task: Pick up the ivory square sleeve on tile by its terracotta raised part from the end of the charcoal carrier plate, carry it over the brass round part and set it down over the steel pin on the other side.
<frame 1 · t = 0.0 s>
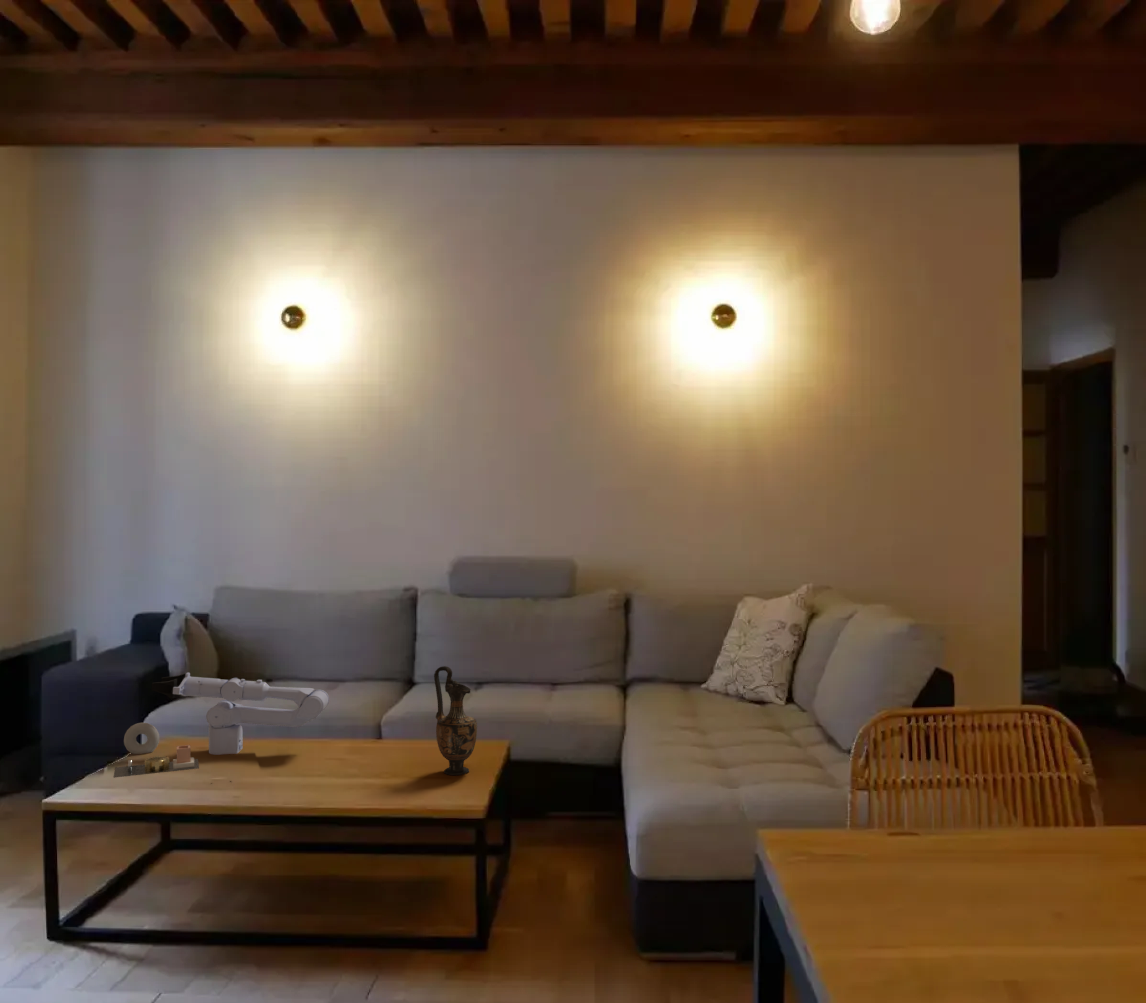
hand: (156, 683, 286), 22 cm above the table, tool horizontal, fingers open, 7 cm apart
square sleeve on tile: (183, 765, 273), point 1 cm above the table, touching carrier plate
vase: (455, 772, 271), on the table
carrier plate: (157, 771, 270), on the table
donut: (141, 756, 286), on the table
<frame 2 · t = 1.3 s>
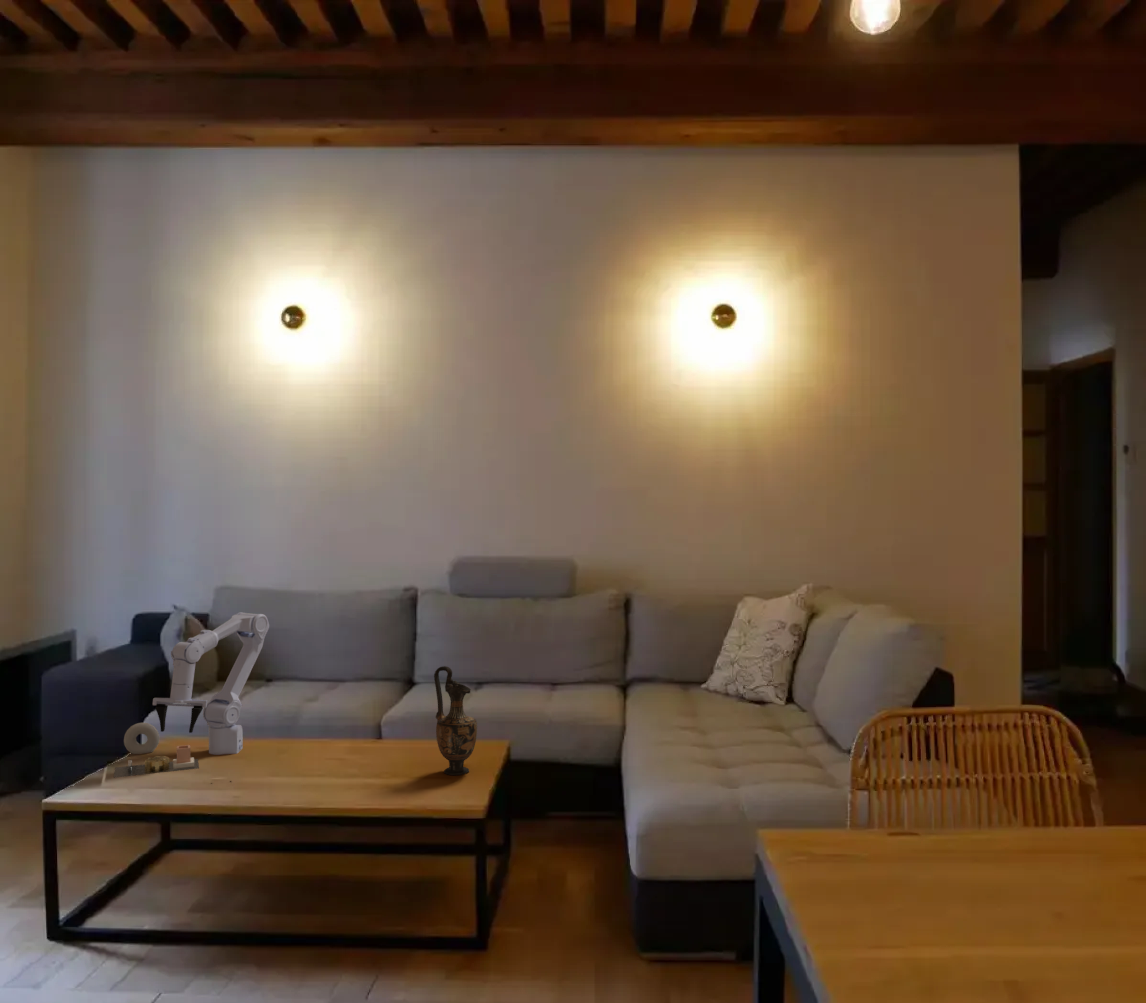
hand: (176, 731, 273), 11 cm above the table, tool pointing down, fingers open, 7 cm apart
nothing on the table moved.
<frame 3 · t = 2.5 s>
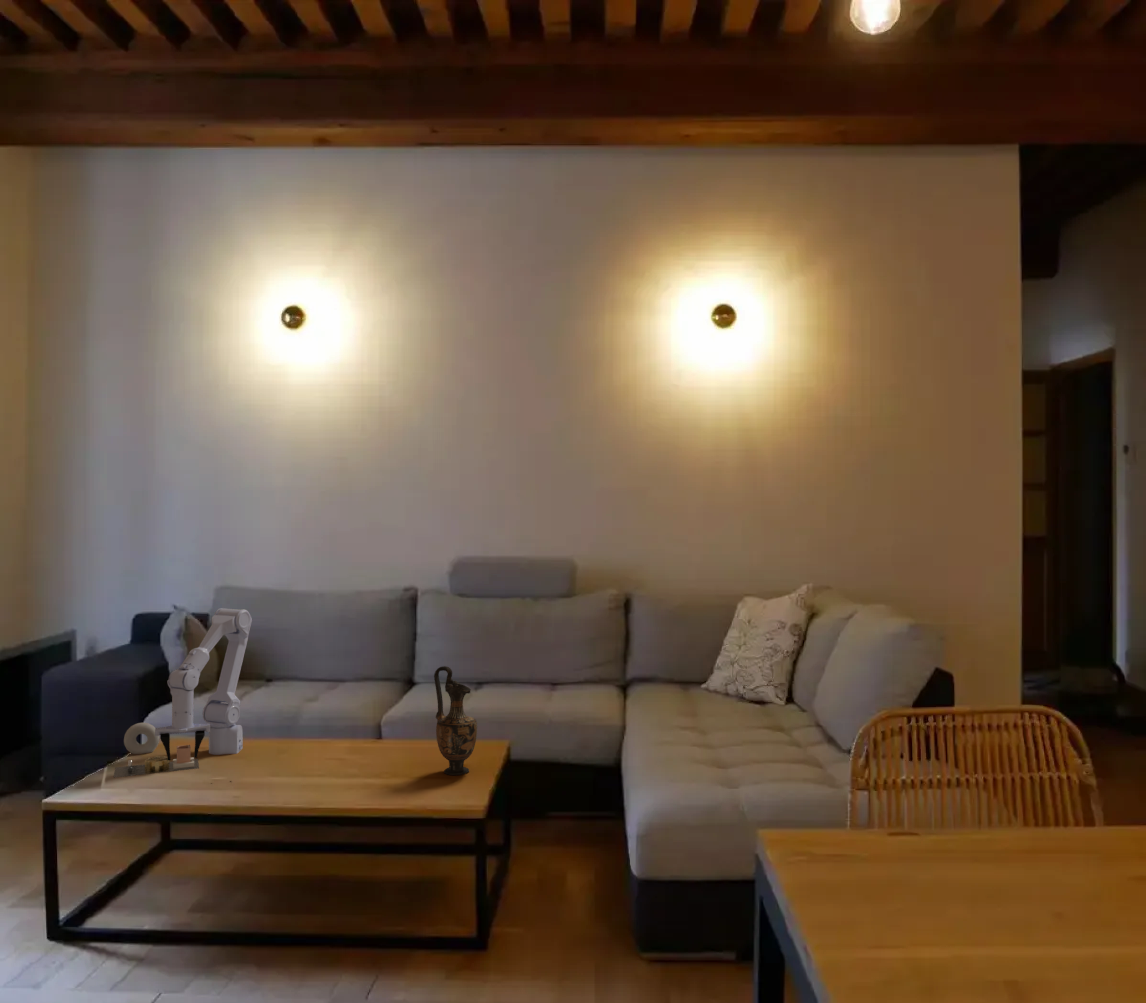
hand: (182, 758, 273), 3 cm above the table, tool pointing down, fingers open, 6 cm apart
nothing on the table moved.
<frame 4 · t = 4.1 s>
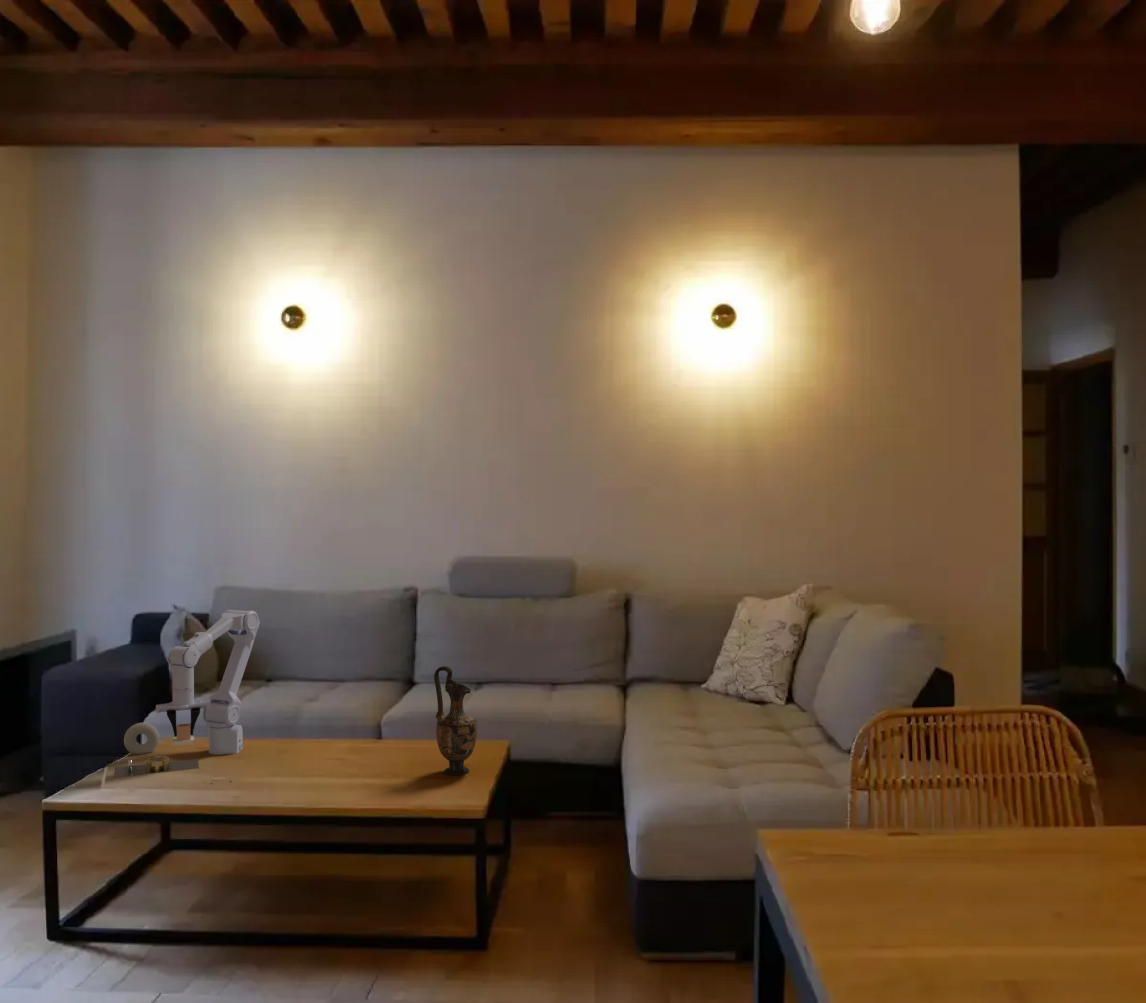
hand: (183, 735, 273), 10 cm above the table, tool pointing down, fingers closed on square sleeve on tile, 4 cm apart
square sleeve on tile: (183, 743, 273), point 7 cm above the table, touching gripper
everything else where it was.
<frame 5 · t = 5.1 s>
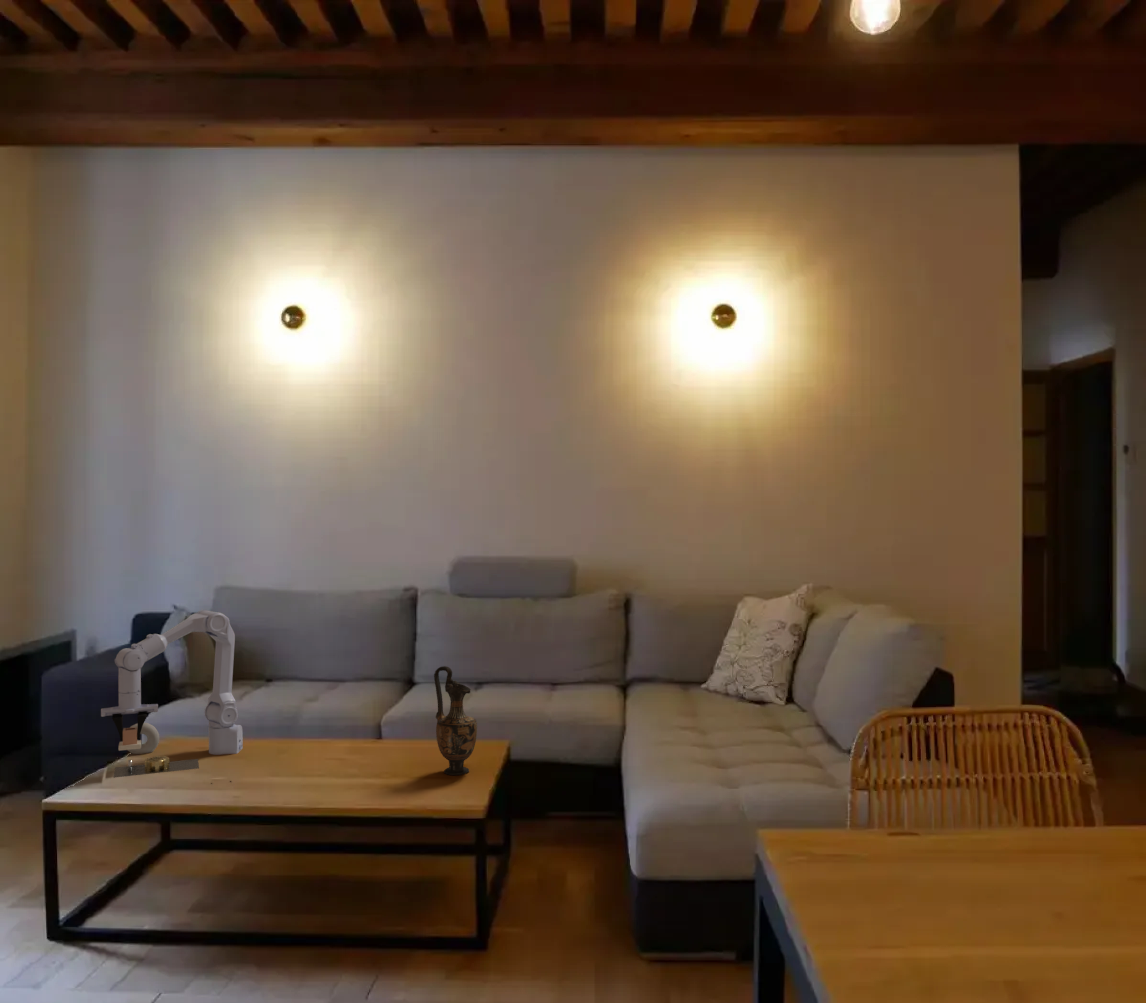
hand: (130, 739, 267), 10 cm above the table, tool pointing down, fingers closed on square sleeve on tile, 4 cm apart
square sleeve on tile: (130, 747, 267), point 8 cm above the table, touching gripper
everything else where it was.
when the fingers open (4 cm above the table, at t = 6.6 s): square sleeve on tile stays where it is, resting on carrier plate.
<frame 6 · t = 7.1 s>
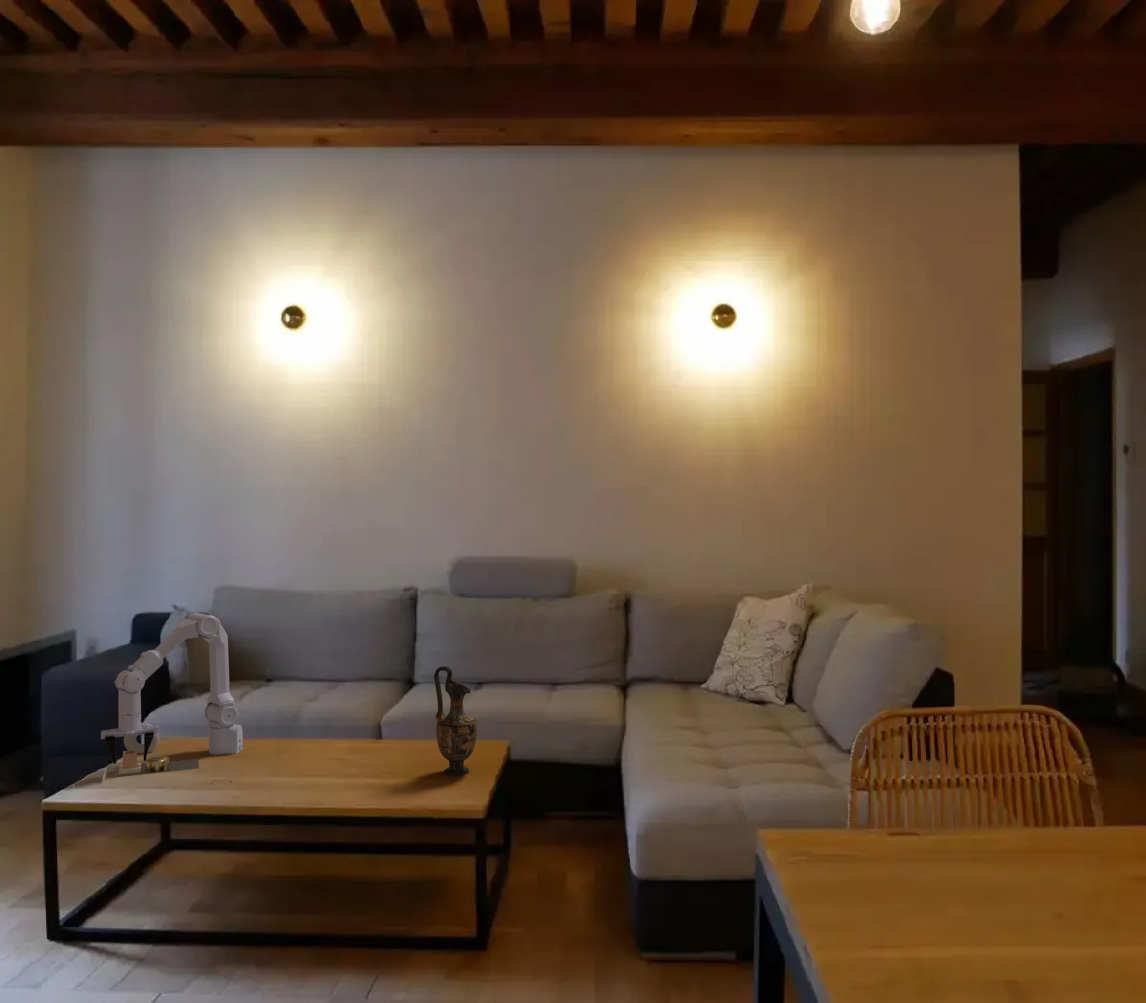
hand: (130, 761, 267), 4 cm above the table, tool pointing down, fingers open, 7 cm apart
square sleeve on tile: (130, 770, 267), point 1 cm above the table, touching carrier plate
everything else where it was.
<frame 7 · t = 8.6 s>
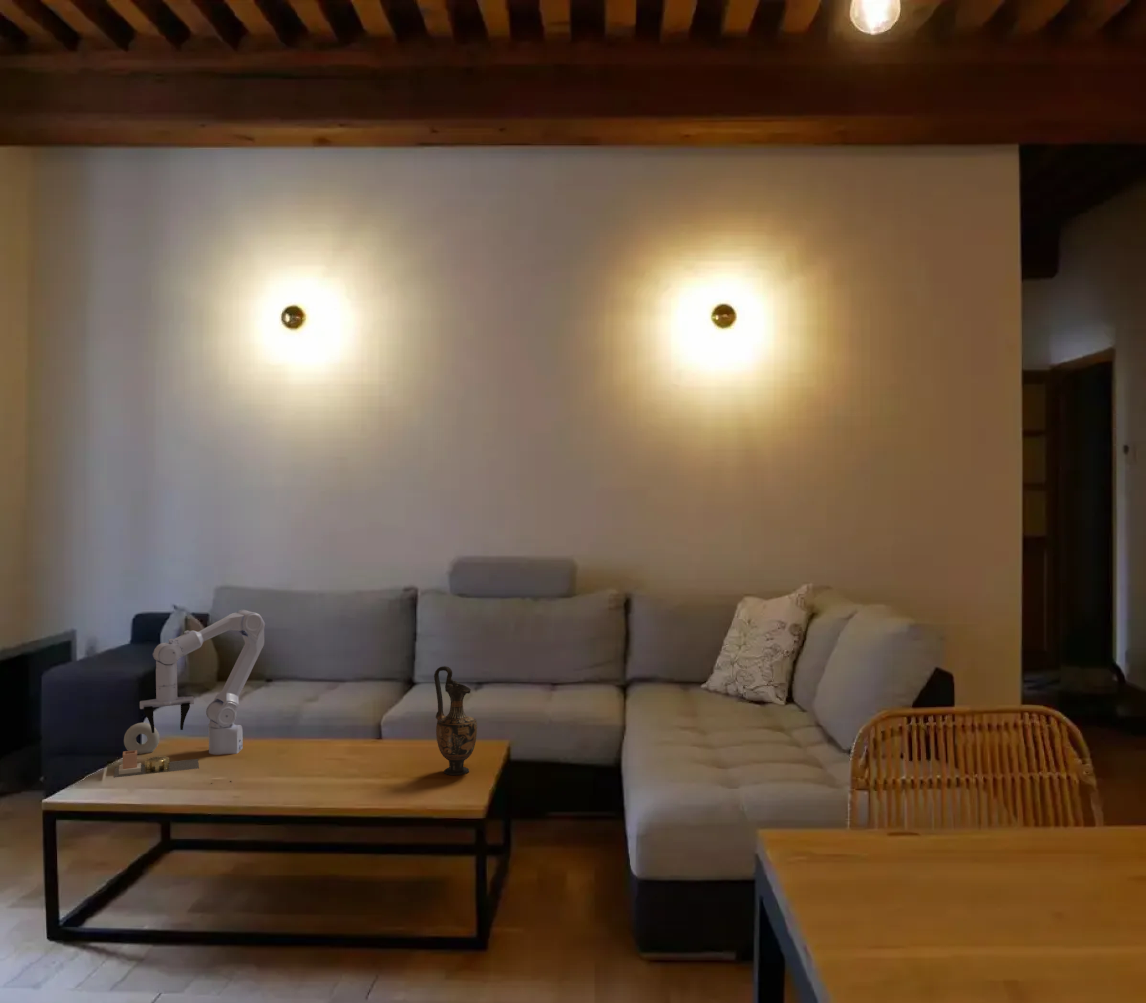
hand: (167, 730, 277), 10 cm above the table, tool pointing down, fingers open, 7 cm apart
nothing on the table moved.
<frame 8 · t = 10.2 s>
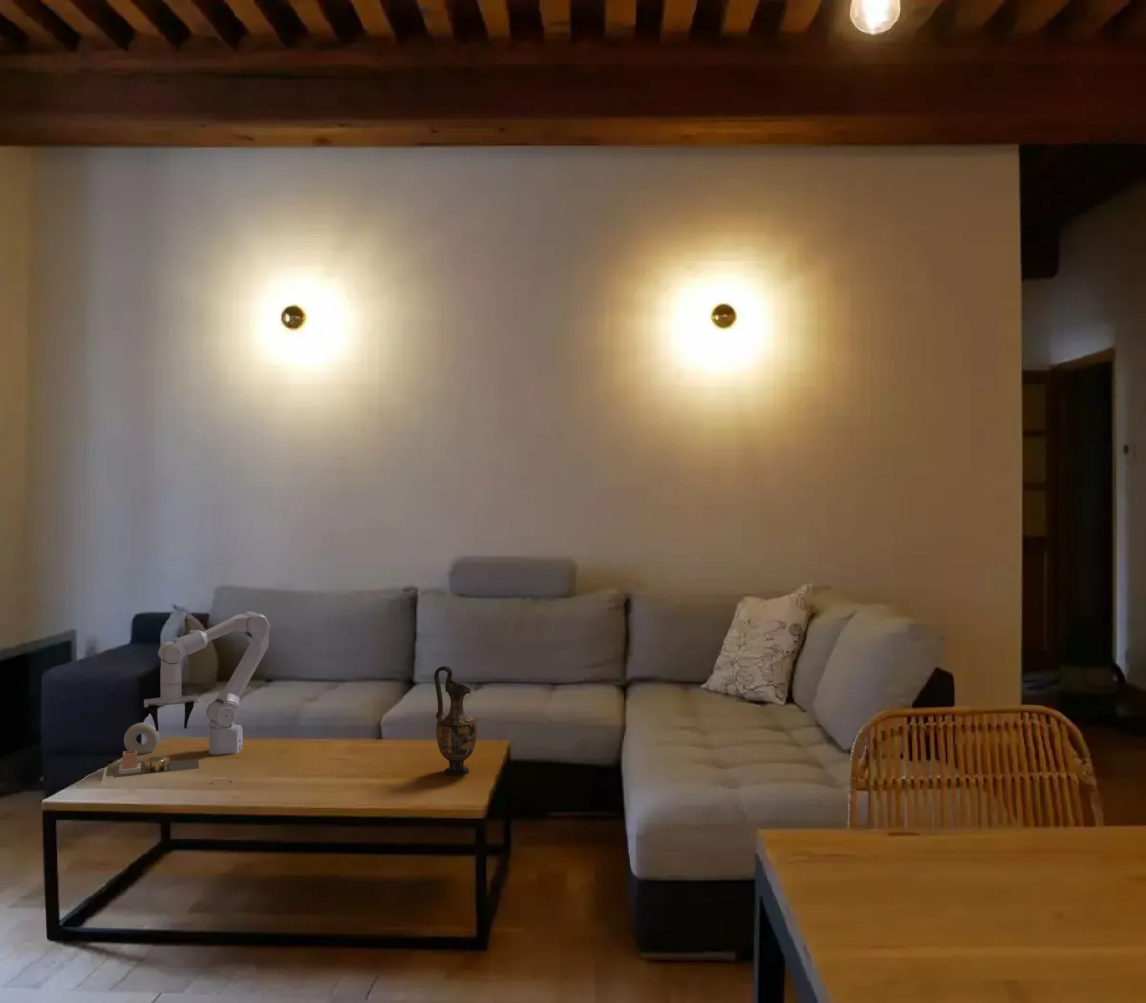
hand: (171, 729, 279), 10 cm above the table, tool pointing down, fingers open, 7 cm apart
nothing on the table moved.
at the end: square sleeve on tile 0.1 cm from the target spot on the carrier plate, point 1.0 cm above the carrier plate's base; square sleeve on tile tilted 0°; the gripper is holding nothing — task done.
